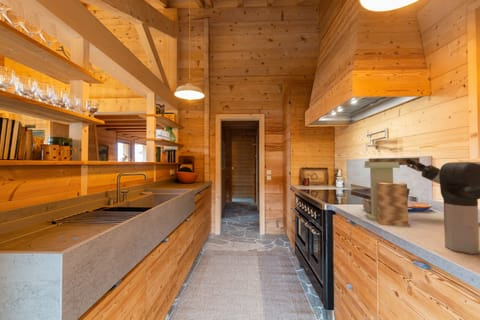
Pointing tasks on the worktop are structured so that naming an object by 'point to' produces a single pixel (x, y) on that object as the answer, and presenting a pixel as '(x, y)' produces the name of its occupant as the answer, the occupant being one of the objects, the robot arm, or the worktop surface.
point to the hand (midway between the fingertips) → (404, 160)
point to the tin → (367, 205)
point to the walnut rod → (394, 160)
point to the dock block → (392, 204)
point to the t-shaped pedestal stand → (379, 181)
